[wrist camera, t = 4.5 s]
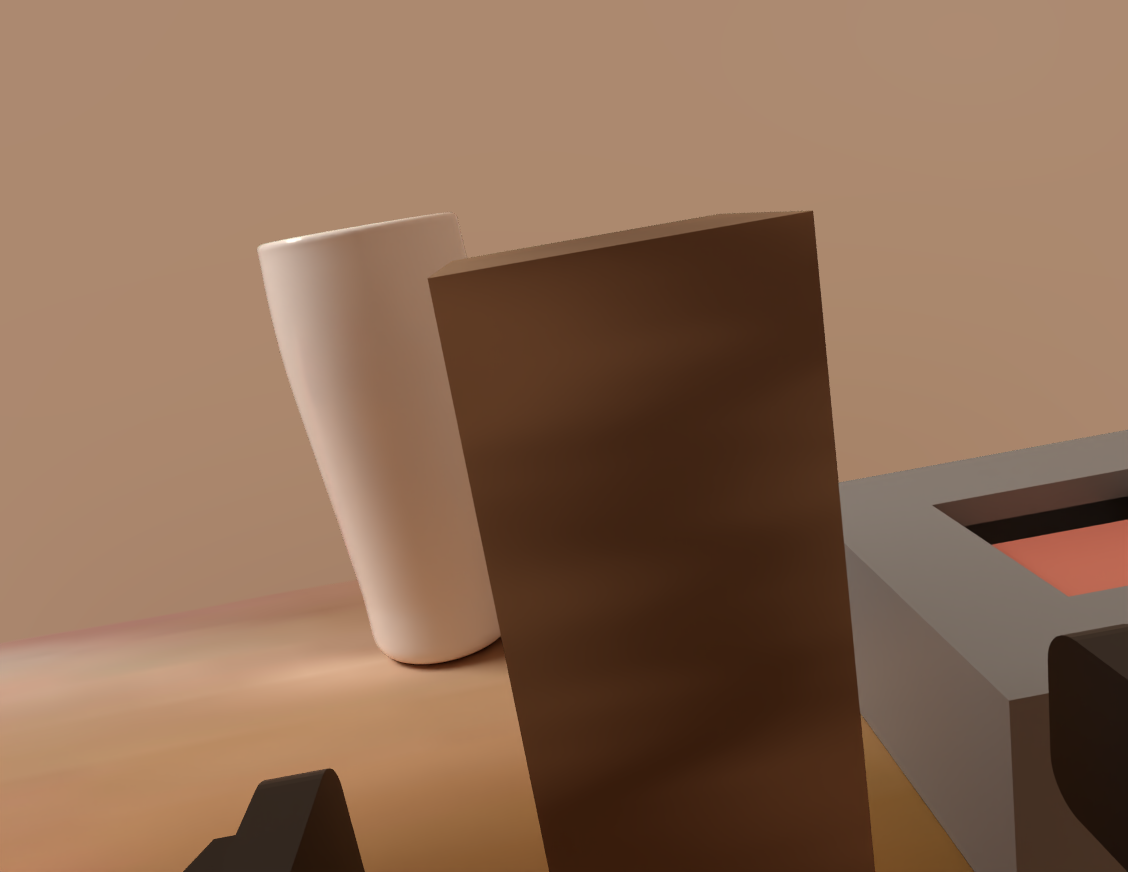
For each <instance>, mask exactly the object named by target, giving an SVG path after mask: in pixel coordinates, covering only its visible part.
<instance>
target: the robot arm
mask: <svg viewBox="0 0 1128 872" xmlns="http://www.w3.org/2000/svg"><path fill="white" fill-rule="evenodd" d="M1048 690H1049V724H1050V755H1051V764H1052V769H1053V773H1054V777H1055V779H1056V782H1057V785H1058V787H1059V790H1060V792H1061V794H1062V796H1063V798H1064V800H1065V802H1066V804H1067V805H1068V807H1069V808H1070V810H1071V811H1072V813H1073V814H1074V815H1075V817H1076V818H1077V819H1078V820H1079V821H1080V822H1081V823H1082V824H1083V825H1084V827H1085V828H1086V829H1087V830H1088V831H1089V832H1090V833H1091V834H1092V835H1093V836H1094V837H1095V838H1096V839H1097V840H1098V841H1099V842H1100V843H1101V845H1102V846H1103V847H1104V848H1105V849H1106V850H1107V851H1108V852H1109V853H1110V854H1111V855H1112V856H1113V857H1114V858H1115V859H1116V860H1117V861H1118V863H1119V864H1120V865H1121V866H1122V867H1123V868H1124V869H1125V870H1126V871H1127V872H1128V624H1119V625H1114V626H1108V627H1103V628H1097V629H1092V630H1087V631H1081V632H1076V633H1070V634H1065V635H1060V636H1057V637H1055V638H1054V639H1053V640H1052V641H1051V643H1050V646H1049V649H1048ZM183 872H365V871H364V867H363V864H362V860H361V856H360V853H359V849H358V845H357V841H356V838H355V834H354V830H353V827H352V823H351V819H350V816H349V812H348V808H347V804H346V801H345V797H344V793H343V790H342V786H341V783H340V780H339V778H338V776H337V774H336V773H335V771H334V770H333V769H323V770H318V771H313V772H307V773H302V774H296V775H291V776H286V777H280V778H275V779H269V780H264V781H262V782H261V783H260V784H259V785H258V787H257V789H256V790H255V793H254V795H253V797H252V799H251V802H250V804H249V806H248V808H247V811H246V813H245V815H244V817H243V820H242V822H241V824H240V827H239V829H238V831H237V833H236V835H234V836H228V837H223V838H218V839H214V840H213V841H212V842H211V843H210V844H209V845H208V846H207V847H206V848H205V849H204V850H203V851H202V852H201V853H200V855H199V856H198V857H197V858H196V859H195V860H194V861H193V862H192V863H191V864H190V865H189V866H188V867H187V868H186V869H185V870H184V871H183Z"/></svg>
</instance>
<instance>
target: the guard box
mask: <svg viewBox="0 0 1128 872" xmlns="http://www.w3.org/2000/svg"><path fill="white" fill-rule="evenodd" d="M839 493H840V504H841V515H842V525H843V536H844V546H845V557H846V568H847V578H848V589H849V600H850V610H851V621H852V632H853V642H854V653H855V664H856V674H857V685H858V696H859V706H860V713H861V714H862V716H863V717H864V719H865V720H866V721H867V723H868V724H869V725H870V727H871V728H872V730H873V731H874V732H875V734H876V735H877V737H878V738H879V739H880V741H881V742H882V744H883V745H884V746H885V748H886V749H887V751H888V752H889V753H890V755H891V756H892V757H893V759H894V760H895V762H896V763H897V764H898V766H899V767H900V769H901V770H902V771H903V773H904V774H905V776H906V777H907V778H908V780H909V781H910V783H911V784H912V785H913V787H914V788H915V790H916V791H917V792H918V794H919V795H920V796H921V798H922V799H923V801H924V802H925V803H926V805H927V806H928V808H929V809H930V810H931V812H932V813H933V815H934V816H935V817H936V819H937V820H938V822H939V823H940V824H941V826H942V827H943V828H944V830H945V831H946V833H947V834H948V835H949V837H950V838H951V840H952V841H953V842H954V844H955V845H956V847H957V848H958V849H959V851H960V852H961V854H962V855H963V856H964V858H965V859H966V861H967V862H968V863H969V865H970V866H971V867H972V869H973V870H974V872H1127V871H1126V870H1125V869H1124V868H1123V867H1122V866H1121V865H1120V864H1119V863H1118V861H1117V860H1116V859H1115V858H1114V857H1113V856H1112V855H1111V854H1110V853H1109V852H1108V851H1107V850H1106V849H1105V848H1104V847H1103V846H1102V845H1101V843H1100V842H1099V841H1098V840H1097V839H1096V838H1095V837H1094V836H1093V835H1092V834H1091V833H1090V832H1089V831H1088V830H1087V829H1086V828H1085V827H1084V825H1083V824H1082V823H1081V822H1080V821H1079V820H1078V819H1077V818H1076V817H1075V815H1074V814H1073V813H1072V811H1071V810H1070V808H1069V807H1068V805H1067V804H1066V802H1065V800H1064V798H1063V796H1062V794H1061V792H1060V790H1059V787H1058V785H1057V782H1056V779H1055V777H1054V773H1053V769H1052V764H1051V755H1050V724H1049V690H1048V649H1049V646H1050V643H1051V641H1052V640H1053V639H1054V638H1055V637H1057V636H1060V635H1065V634H1070V633H1076V632H1081V631H1087V630H1092V629H1097V628H1103V627H1108V626H1114V625H1119V624H1128V586H1123V587H1118V588H1112V589H1107V590H1102V591H1096V592H1091V593H1086V594H1080V595H1075V596H1070V597H1068V596H1067V595H1065V594H1064V593H1062V592H1061V591H1059V590H1058V589H1056V588H1055V587H1053V586H1052V585H1050V584H1049V583H1047V582H1046V581H1044V580H1043V579H1041V578H1040V577H1038V576H1037V575H1035V574H1034V573H1032V572H1031V571H1029V570H1028V569H1027V568H1025V567H1024V566H1022V565H1021V564H1019V563H1018V562H1016V561H1015V560H1013V559H1012V558H1010V557H1009V556H1007V555H1006V554H1004V553H1003V552H1001V551H1000V550H998V549H997V548H995V547H994V546H992V545H993V544H998V543H1004V542H1009V541H1014V540H1020V539H1025V538H1031V537H1036V536H1041V535H1047V534H1052V533H1058V532H1063V531H1068V530H1074V529H1079V528H1085V527H1090V526H1095V525H1101V524H1106V523H1112V522H1117V521H1122V520H1128V430H1125V431H1119V432H1113V433H1108V434H1102V435H1097V436H1092V437H1086V438H1080V439H1075V440H1070V441H1064V442H1059V443H1053V444H1048V445H1043V446H1037V447H1031V448H1026V449H1020V450H1016V451H1010V452H1004V453H998V454H993V455H988V456H982V457H977V458H971V459H966V460H960V461H955V462H949V463H944V464H938V465H933V466H927V467H922V468H917V469H911V470H906V471H900V472H894V473H889V474H884V475H878V476H873V477H867V478H862V479H856V480H851V481H846V482H840V483H839Z"/></svg>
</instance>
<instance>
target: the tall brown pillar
mask: <svg viewBox="0 0 1128 872" xmlns="http://www.w3.org/2000/svg"><path fill="white" fill-rule="evenodd" d="M427 279H428V284H429V288H430V293H431V298H432V303H433V308H434V313H435V318H436V322H437V327H438V332H439V337H440V342H441V347H442V352H443V357H444V361H445V366H446V371H447V376H448V381H449V386H450V391H451V395H452V400H453V405H454V410H455V415H456V420H457V425H458V429H459V434H460V439H461V444H462V449H463V454H464V459H465V464H466V468H467V473H468V478H469V483H470V488H471V493H472V498H473V502H474V507H475V512H476V517H477V522H478V527H479V532H480V536H481V541H482V546H483V551H484V556H485V561H486V566H487V571H488V575H489V580H490V585H491V590H492V595H493V600H494V605H495V609H496V614H497V619H498V624H499V629H500V634H501V639H502V644H503V648H504V653H505V658H506V663H507V668H508V673H509V678H510V682H511V687H512V692H513V697H514V702H515V707H516V712H517V716H518V721H519V726H520V731H521V736H522V741H523V746H524V751H525V755H526V760H527V765H528V770H529V775H530V780H531V785H532V789H533V794H534V799H535V804H536V809H537V814H538V819H539V823H540V828H541V833H542V838H543V843H544V848H545V853H546V858H547V862H548V867H549V872H875V866H874V855H873V845H872V834H871V823H870V813H869V802H868V792H867V781H866V770H865V760H864V749H863V738H862V728H861V717H860V706H859V696H858V685H857V674H856V664H855V653H854V642H853V632H852V621H851V610H850V600H849V589H848V578H847V568H846V557H845V546H844V536H843V525H842V515H841V504H840V493H839V483H838V472H837V461H836V451H835V440H834V429H833V420H832V408H831V397H830V388H829V376H828V366H827V355H826V344H825V333H824V324H823V312H822V302H821V291H820V281H819V270H818V260H817V249H816V238H815V227H814V216H813V211H791V212H764V213H763V212H761V213H733V214H717V215H711V216H705V217H699V218H694V219H688V220H682V221H677V222H671V223H666V224H660V225H654V226H648V227H642V228H637V229H631V230H626V231H620V232H614V233H608V234H602V235H598V236H591V237H586V238H580V239H575V240H569V241H563V242H557V243H551V244H545V245H540V246H534V247H529V248H523V249H517V250H511V251H506V252H500V253H495V254H488V255H483V256H477V257H471V258H466V259H460V260H454V261H451V262H450V263H448V264H447V265H445V266H444V267H443V268H441V269H440V270H438V271H437V272H436V273H434V274H433V275H431V276H430V277H429V278H427Z"/></svg>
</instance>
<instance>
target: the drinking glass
mask: <svg viewBox="0 0 1128 872" xmlns="http://www.w3.org/2000/svg"><path fill="white" fill-rule="evenodd" d="M257 253H258V257H259V261H260V266H261V271H262V277H263V282H264V287H265V292H266V296H267V301H268V306H269V310H270V315H271V319H272V323H273V327H274V331H275V335H276V339H277V343H278V346H279V350H280V353H281V357H282V360H283V364H284V367H285V370H286V373H287V377H288V380H289V383H290V386H291V389H292V392H293V395H294V398H295V401H296V404H297V407H298V410H299V413H300V416H301V419H302V421H303V424H304V427H305V430H306V433H307V436H308V439H309V441H310V444H311V447H312V450H313V453H314V456H315V459H316V461H317V464H318V467H319V469H320V473H321V475H322V478H323V481H324V484H325V487H326V490H327V493H328V496H329V499H330V501H331V504H332V507H333V510H334V513H335V516H336V519H337V522H338V525H339V528H340V530H341V533H342V536H343V539H344V542H345V545H346V548H347V551H348V554H349V557H350V560H351V563H352V565H353V569H354V572H355V575H356V578H357V581H358V584H359V587H360V590H361V593H362V596H363V599H364V603H365V606H366V611H367V615H368V619H369V623H370V627H371V631H372V634H373V638H374V640H375V643H376V645H377V646H378V648H379V649H380V650H381V651H382V652H383V653H384V654H385V655H386V656H388V657H390V658H392V659H394V660H396V661H399V662H404V663H409V664H433V663H441V662H446V661H451V660H455V659H458V658H461V657H464V656H467V655H470V654H472V653H475V652H477V651H479V650H481V649H483V648H485V647H487V646H488V645H490V644H491V643H493V642H494V641H496V640H497V639H498V638H499V637H500V636H501V634H500V629H499V624H498V619H497V614H496V609H495V605H494V600H493V595H492V590H491V585H490V580H489V575H488V571H487V566H486V561H485V556H484V551H483V546H482V541H481V536H480V532H479V527H478V522H477V517H476V512H475V507H474V502H473V498H472V493H471V488H470V483H469V478H468V473H467V468H466V464H465V459H464V454H463V449H462V444H461V439H460V434H459V429H458V425H457V420H456V415H455V410H454V405H453V400H452V395H451V391H450V386H449V381H448V376H447V371H446V366H445V361H444V357H443V352H442V347H441V342H440V337H439V332H438V327H437V322H436V318H435V313H434V308H433V303H432V298H431V293H430V288H429V284H428V279H427V278H429V277H430V276H431V275H433V274H434V273H436V272H437V271H438V270H440V269H441V268H443V267H444V266H445V265H447V264H448V263H450V262H451V261H454V260H460V259H466V258H467V255H466V251H465V247H464V243H463V239H462V235H461V231H460V227H459V222H458V217H457V215H456V214H455V213H453V212H446V213H438V214H431V215H425V216H418V217H412V218H406V219H399V220H393V221H386V222H380V223H374V224H369V225H363V226H357V227H351V228H346V229H339V230H334V231H328V232H322V233H317V234H311V235H306V236H300V237H295V238H290V239H285V240H280V241H275V242H270V243H265V244H262V245H260V246H259V247H258V248H257Z"/></svg>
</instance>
